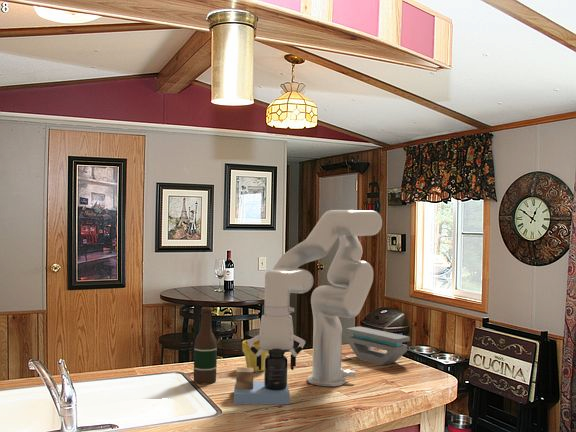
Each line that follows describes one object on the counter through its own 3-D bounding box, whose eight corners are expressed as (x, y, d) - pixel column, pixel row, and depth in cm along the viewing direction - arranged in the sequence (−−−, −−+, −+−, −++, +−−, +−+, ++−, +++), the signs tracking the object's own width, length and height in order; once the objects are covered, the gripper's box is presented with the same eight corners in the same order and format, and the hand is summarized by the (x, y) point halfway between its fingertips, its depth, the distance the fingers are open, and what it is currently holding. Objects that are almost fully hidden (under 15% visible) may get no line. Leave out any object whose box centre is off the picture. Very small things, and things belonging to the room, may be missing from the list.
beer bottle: (212, 385, 177) (214, 309, 177) (188, 383, 178) (190, 308, 179) (219, 378, 184) (221, 306, 185) (197, 377, 186) (199, 305, 186)
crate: (252, 384, 169) (253, 367, 169) (253, 389, 164) (253, 372, 164) (236, 384, 169) (236, 367, 169) (236, 388, 164) (236, 371, 164)
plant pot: (235, 369, 196) (236, 342, 196) (253, 364, 205) (254, 337, 205) (259, 374, 190) (259, 346, 190) (276, 368, 199) (277, 341, 199)
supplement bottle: (263, 383, 169) (264, 344, 169) (285, 384, 170) (287, 344, 170) (264, 390, 162) (265, 349, 163) (287, 390, 163) (289, 349, 163)
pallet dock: (286, 391, 172) (286, 381, 172) (289, 404, 160) (289, 393, 160) (234, 391, 171) (235, 381, 171) (233, 404, 159) (234, 393, 159)
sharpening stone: (409, 366, 207) (409, 336, 208) (396, 369, 202) (396, 339, 202) (358, 353, 226) (359, 326, 226) (345, 355, 221) (346, 328, 221)
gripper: (304, 309, 171) (303, 365, 171) (247, 309, 169) (246, 365, 169) (307, 313, 163) (306, 372, 163) (247, 313, 162) (246, 372, 162)
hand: (275, 368), depth 166 cm, fingers open, 9 cm apart
